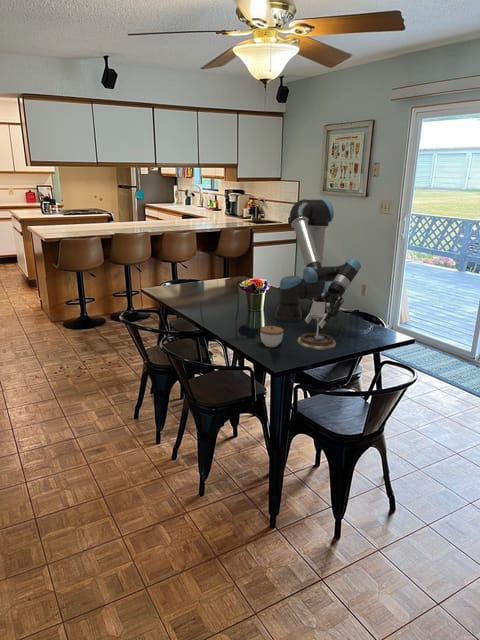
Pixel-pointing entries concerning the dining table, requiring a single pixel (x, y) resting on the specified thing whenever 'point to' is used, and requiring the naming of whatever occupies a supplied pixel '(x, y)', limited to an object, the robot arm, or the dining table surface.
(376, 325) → the dining table surface
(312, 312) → the wineglass
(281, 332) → the lidded jar
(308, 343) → the ring tray
